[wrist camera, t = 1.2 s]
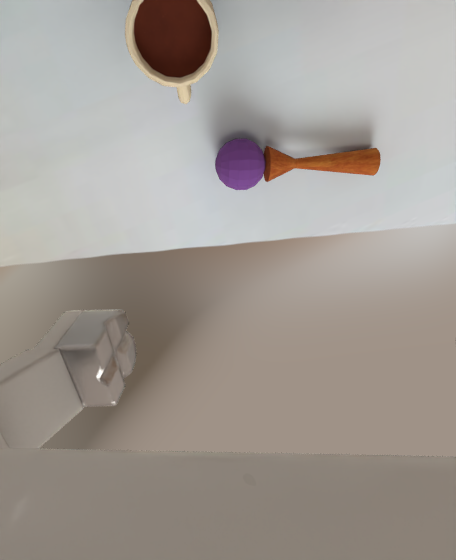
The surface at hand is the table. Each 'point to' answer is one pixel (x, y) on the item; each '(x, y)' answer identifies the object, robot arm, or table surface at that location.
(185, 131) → the table surface
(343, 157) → the kendama
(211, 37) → the character mug
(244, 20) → the table surface
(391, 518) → the robot arm
